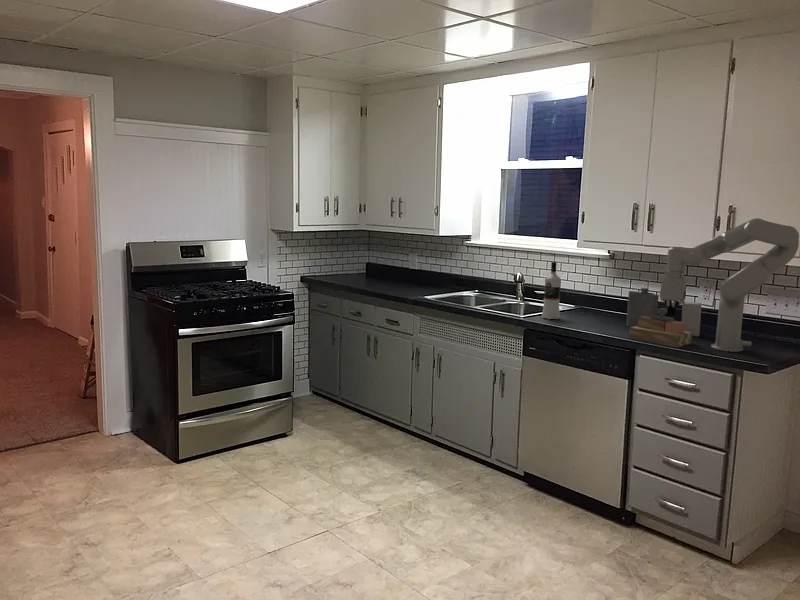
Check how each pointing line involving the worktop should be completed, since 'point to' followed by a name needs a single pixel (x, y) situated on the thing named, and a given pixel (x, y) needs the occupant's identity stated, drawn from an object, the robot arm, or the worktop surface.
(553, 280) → the vodka
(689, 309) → the skincare box
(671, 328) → the cover cap
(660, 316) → the t-key bolt
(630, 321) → the hip flask
